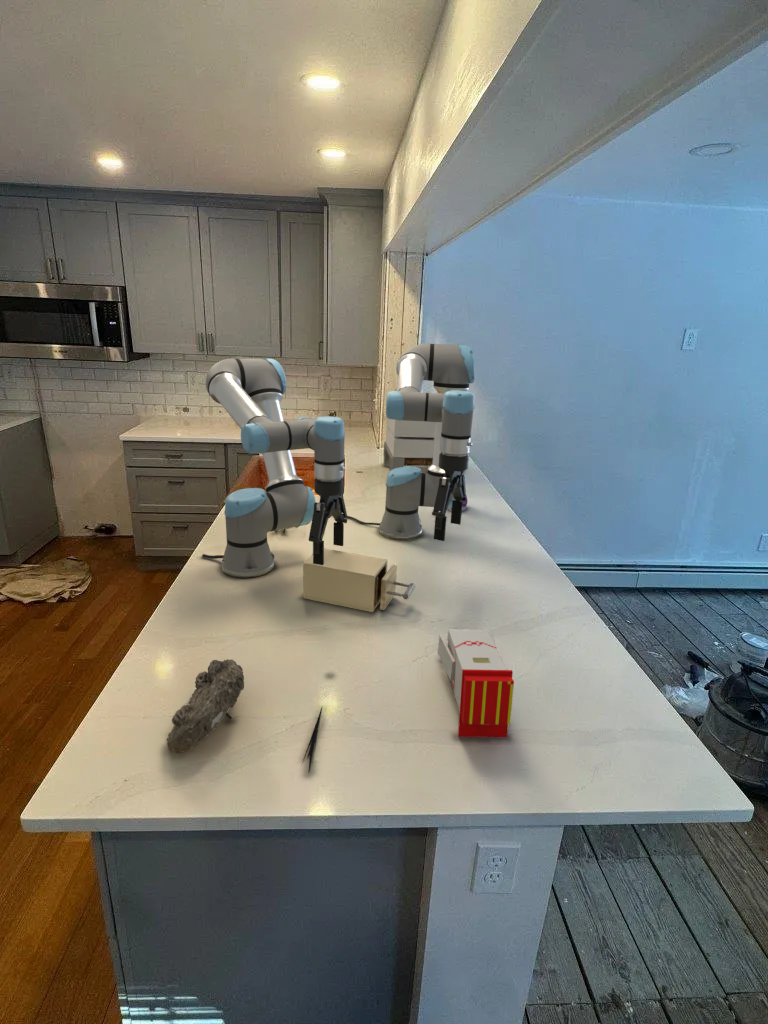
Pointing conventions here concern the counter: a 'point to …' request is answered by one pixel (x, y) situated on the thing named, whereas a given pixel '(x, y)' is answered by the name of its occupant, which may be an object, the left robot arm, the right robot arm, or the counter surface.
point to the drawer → (389, 587)
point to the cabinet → (343, 579)
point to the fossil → (206, 705)
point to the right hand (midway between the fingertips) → (447, 531)
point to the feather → (313, 740)
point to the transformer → (408, 443)
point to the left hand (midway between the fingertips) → (328, 554)
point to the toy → (478, 682)
